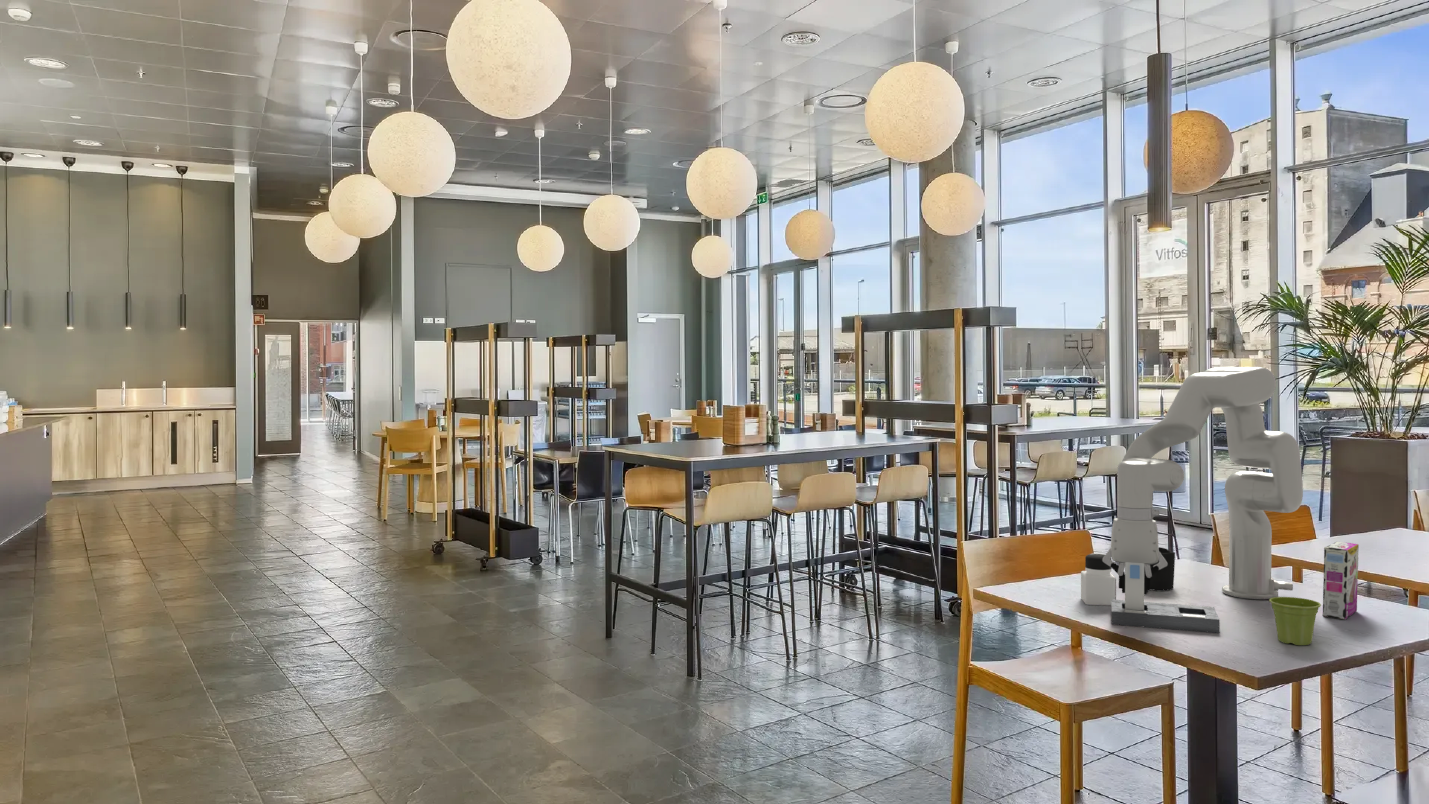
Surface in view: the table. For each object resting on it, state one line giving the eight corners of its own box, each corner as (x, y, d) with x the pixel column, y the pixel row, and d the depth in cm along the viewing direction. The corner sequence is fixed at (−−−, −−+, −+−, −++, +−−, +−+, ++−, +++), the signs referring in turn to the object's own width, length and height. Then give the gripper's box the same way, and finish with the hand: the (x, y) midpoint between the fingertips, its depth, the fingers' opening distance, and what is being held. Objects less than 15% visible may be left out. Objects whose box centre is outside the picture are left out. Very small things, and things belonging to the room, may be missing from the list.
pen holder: (1179, 586, 256) (1179, 549, 255) (1168, 593, 249) (1168, 554, 248) (1142, 581, 262) (1142, 545, 261) (1131, 588, 255) (1131, 550, 254)
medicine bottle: (1116, 606, 236) (1116, 557, 236) (1085, 605, 237) (1085, 557, 237) (1110, 599, 243) (1110, 552, 242) (1080, 598, 244) (1080, 551, 244)
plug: (1143, 606, 224) (1143, 560, 224) (1144, 611, 220) (1144, 563, 219) (1124, 605, 226) (1125, 559, 225) (1125, 610, 221) (1125, 562, 221)
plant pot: (1259, 636, 208) (1259, 597, 208) (1300, 635, 209) (1300, 595, 209) (1288, 649, 199) (1288, 607, 199) (1331, 647, 200) (1331, 606, 200)
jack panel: (1213, 619, 222) (1213, 606, 222) (1219, 633, 211) (1219, 618, 211) (1111, 611, 231) (1111, 598, 231) (1111, 624, 220) (1111, 610, 219)
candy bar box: (1347, 620, 220) (1347, 549, 219) (1322, 617, 223) (1322, 547, 223) (1358, 611, 228) (1359, 543, 227) (1334, 608, 231) (1335, 540, 231)
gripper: (1173, 513, 223) (1173, 592, 223) (1096, 510, 229) (1095, 586, 230) (1175, 518, 216) (1175, 599, 216) (1095, 514, 222) (1095, 593, 223)
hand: (1134, 591), depth 223 cm, fingers closed on plug, 4 cm apart
